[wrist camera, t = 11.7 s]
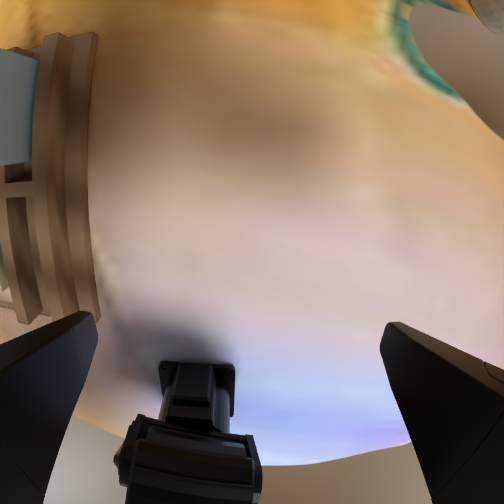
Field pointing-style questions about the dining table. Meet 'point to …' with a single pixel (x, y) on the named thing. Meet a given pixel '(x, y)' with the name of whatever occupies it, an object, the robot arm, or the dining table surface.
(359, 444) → the dining table surface
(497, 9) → the house plant
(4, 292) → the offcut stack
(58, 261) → the rack
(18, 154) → the light blue block
